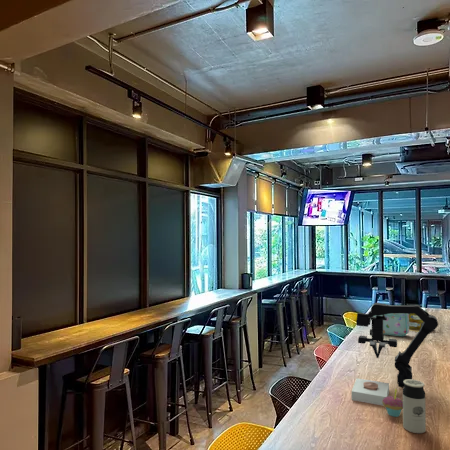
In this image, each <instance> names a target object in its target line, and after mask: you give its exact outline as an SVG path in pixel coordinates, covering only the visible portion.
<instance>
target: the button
mask: <svg viewBox="0 0 450 450" xmlns="http://www.w3.org/2000/svg"><path fill="white" fill-rule="evenodd" d="M364 387H365V389H371V390H376V389H377V388H378V384H376V383H374V382H364Z"/></svg>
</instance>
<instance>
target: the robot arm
mask: <svg viewBox="0 0 450 450" xmlns="http://www.w3.org/2000/svg"><path fill="white" fill-rule="evenodd" d="M422 308H423V307H421V306H420V305H418V304H414V305H408V304H406V305H404V304H400V305H399V304H397V305H396V304H395V305H394V304H386V303H383V302H374V303H373V304H372V306H371V309H370V311H368V313H364V312H363V313H362V312H357V313H356V321H355V324H356V326H359V327H365V328H366V327H369V326H371V329H369V336H371V338H370V337H369V338H368V336H366V335H359V336H358V338H357V339H358V340H357V343H358V344H366V343H369V346H370V347H371V348H372V349H373V352H374V354H375V357H376V359H379V358H380V355H381V351H382V349H383V348H385V347H386V345H388V346H389V347H391V348H397V347H398V339H395V338H388V339H385V335H384V333H383V320H387V317H385V314H389V313H404V314H416V315H417V316H418V317H419V318H420V319H421V320H422V321H423V324H422V326H421V329H420V330H419V332H416V335H415V336H414V337H413V338H412V340H411V342H410V343H409V344H408V346H407V347H406V349H405V350H404V351H402V352H401V351H398V353H397V355H396V356H394V367H395V369H396V370H397V371H398V373H397V375H396V381H397V385H398V387H402V388H404V383H403V381H404V380H406V379H413V372H412V371H413V369H412V368H413V367H412V366H411V365H410V361H411V359H412V357H413V355H415V353H416V351H417V350H418V349H419V347H420V346H421V345H422V343H423V342H424V340H425V339H426V338H427V336H429V334H431V333H432V332H433V331H434V330H436V329H437V327H438V325H439V322H438V319H437V317H436V315H435V316H434V315H432V314H430V313H429V312H428V311H427V312H428V313H429V314H428V313H427V312H426V311H424V310H423V309H422ZM375 315H377V316H376V317H373V316H375ZM379 315H383V316H379ZM371 319H372V320H371ZM377 344H378V346H377Z"/></svg>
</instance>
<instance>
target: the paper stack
mask: <svg viewBox="0 0 450 450" xmlns="http://www.w3.org/2000/svg"><path fill="white" fill-rule="evenodd" d="M421 308H422V309H423V310H424V311H426V312H427V313H428V314H429V315H430V313H429V312H428V310H427V309H426V307H421ZM422 324H423V321H422V320H421V319H420V318H419V317H418V316H417V315H416V314H409V332H415V333H418V332H419V330H420V329H421V326H422Z"/></svg>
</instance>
